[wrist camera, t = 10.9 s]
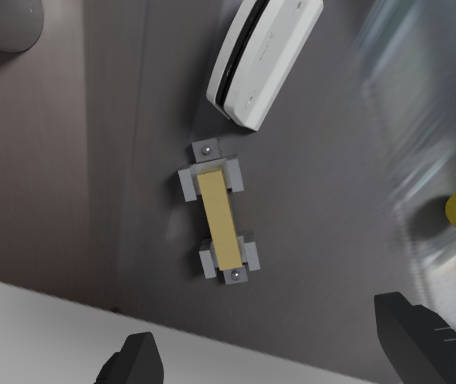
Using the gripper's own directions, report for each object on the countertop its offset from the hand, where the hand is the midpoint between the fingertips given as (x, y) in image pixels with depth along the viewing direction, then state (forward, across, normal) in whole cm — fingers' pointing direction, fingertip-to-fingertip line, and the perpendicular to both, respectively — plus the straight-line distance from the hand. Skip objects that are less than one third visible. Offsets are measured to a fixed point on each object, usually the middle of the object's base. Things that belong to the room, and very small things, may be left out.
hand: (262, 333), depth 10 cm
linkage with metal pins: (+30, +4, +5) cm, 31 cm away
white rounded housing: (+30, -5, -14) cm, 34 cm away
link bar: (+29, +4, +5) cm, 29 cm away
